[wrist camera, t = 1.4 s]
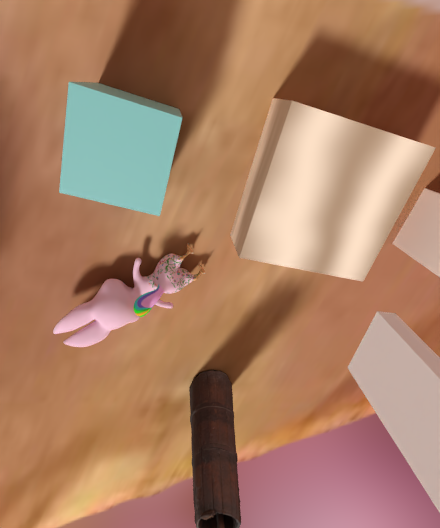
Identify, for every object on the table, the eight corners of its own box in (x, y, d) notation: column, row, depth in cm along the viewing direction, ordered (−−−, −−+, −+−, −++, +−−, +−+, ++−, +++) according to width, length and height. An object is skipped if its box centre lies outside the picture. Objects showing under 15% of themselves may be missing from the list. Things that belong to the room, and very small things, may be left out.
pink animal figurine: (177, 224, 31) (39, 305, 31) (190, 246, 26) (23, 344, 25) (207, 273, 34) (81, 348, 34) (223, 302, 29) (75, 390, 28)
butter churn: (158, 358, 37) (136, 881, 13) (241, 345, 38) (371, 817, 13) (171, 411, 42) (173, 873, 17) (245, 398, 42) (347, 825, 18)
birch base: (229, 233, 31) (239, 257, 27) (271, 98, 26) (292, 100, 22) (338, 256, 34) (363, 281, 30) (395, 138, 29) (435, 147, 25)
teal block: (88, 164, 26) (59, 192, 19) (98, 82, 24) (68, 81, 17) (162, 183, 28) (159, 216, 21) (179, 109, 25) (182, 117, 18)
